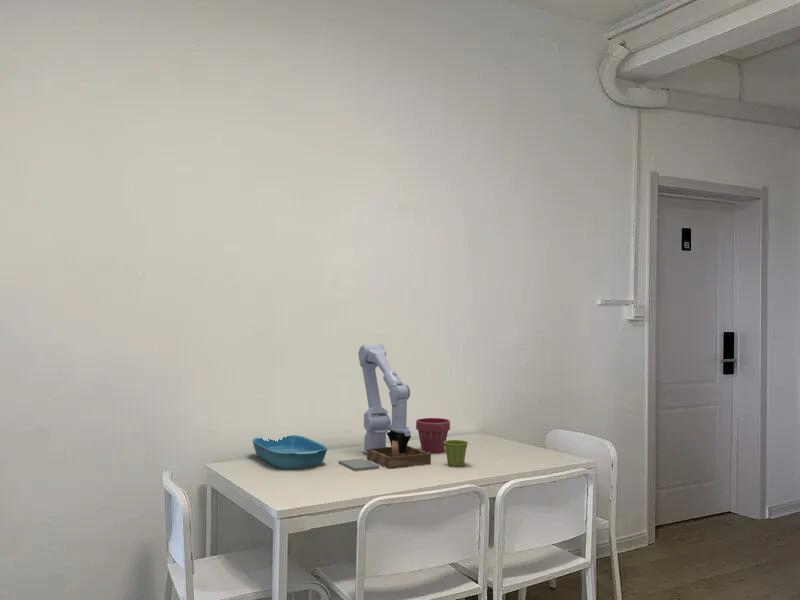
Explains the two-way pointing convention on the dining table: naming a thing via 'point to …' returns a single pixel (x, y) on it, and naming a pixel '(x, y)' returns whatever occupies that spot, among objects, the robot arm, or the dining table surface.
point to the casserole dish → (291, 452)
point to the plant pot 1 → (432, 433)
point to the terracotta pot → (396, 449)
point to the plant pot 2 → (455, 452)
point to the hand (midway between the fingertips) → (398, 451)
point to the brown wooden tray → (398, 457)
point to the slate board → (358, 464)
